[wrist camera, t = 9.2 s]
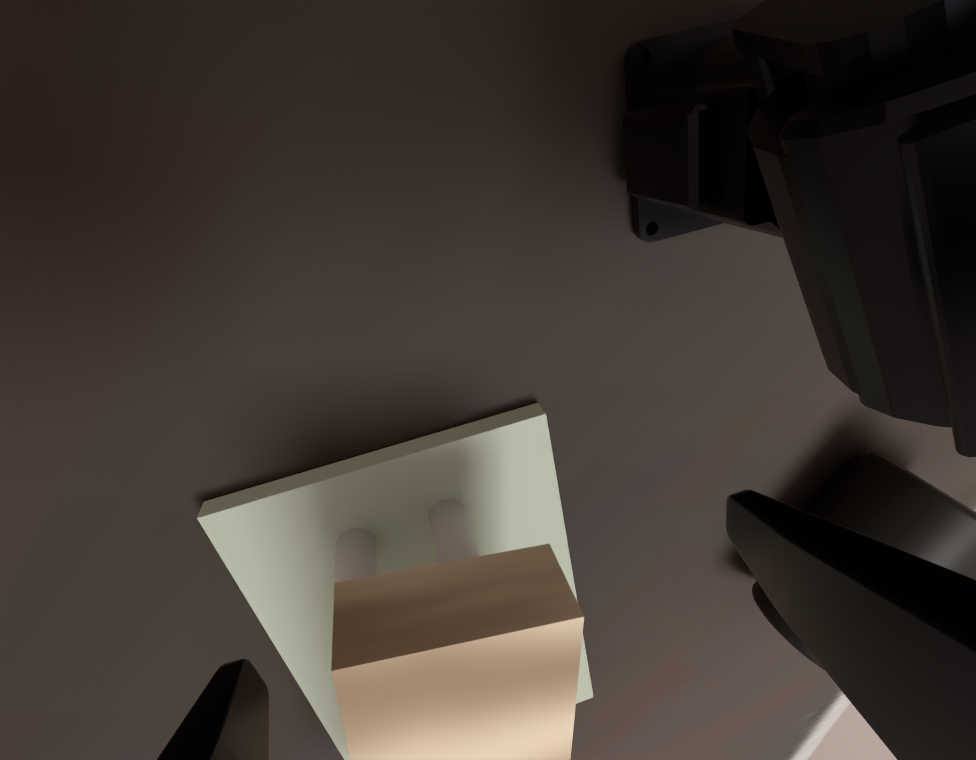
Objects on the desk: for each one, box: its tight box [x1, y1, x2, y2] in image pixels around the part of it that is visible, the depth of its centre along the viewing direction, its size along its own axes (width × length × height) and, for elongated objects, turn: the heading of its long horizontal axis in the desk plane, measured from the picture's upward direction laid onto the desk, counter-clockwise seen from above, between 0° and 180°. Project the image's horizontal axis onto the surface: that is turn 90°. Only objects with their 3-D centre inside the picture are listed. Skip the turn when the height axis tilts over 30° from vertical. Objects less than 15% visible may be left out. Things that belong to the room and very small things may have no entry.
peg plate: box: [197, 403, 593, 760], centre depth 23 cm, size 20×14×6 cm
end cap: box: [752, 452, 976, 670], centre depth 27 cm, size 10×7×7 cm
